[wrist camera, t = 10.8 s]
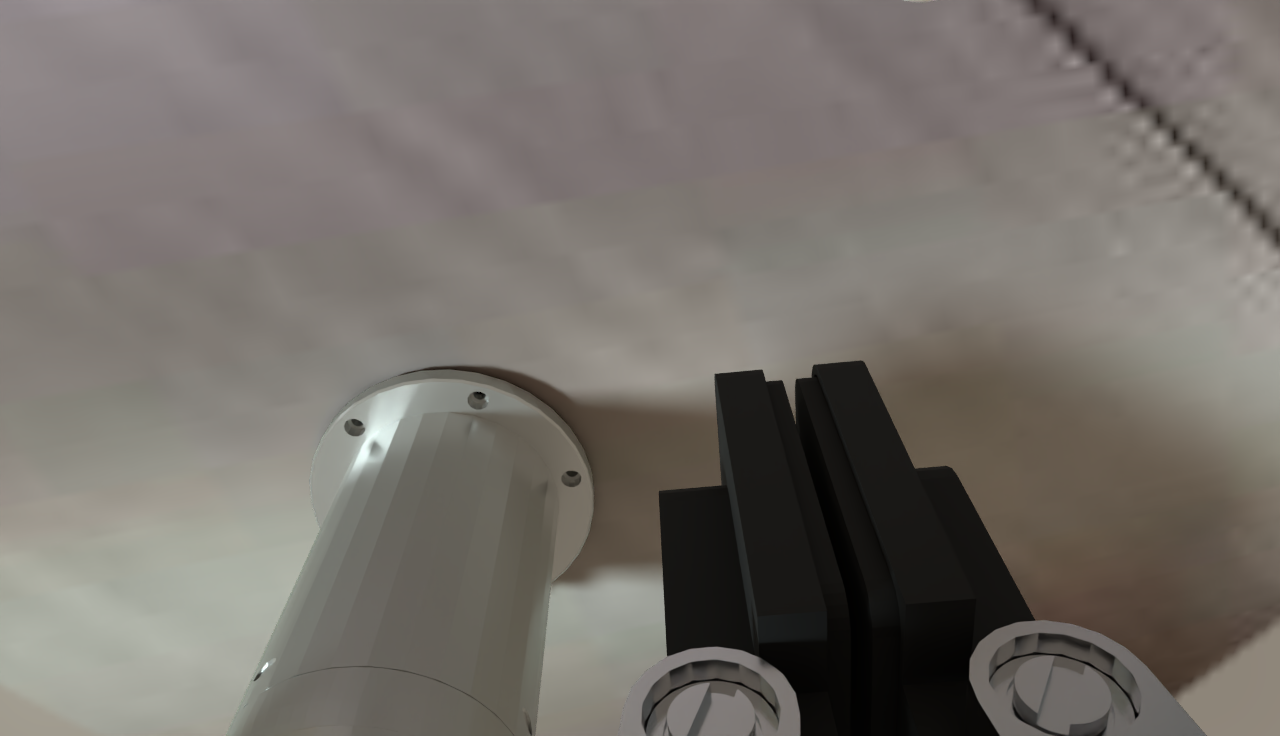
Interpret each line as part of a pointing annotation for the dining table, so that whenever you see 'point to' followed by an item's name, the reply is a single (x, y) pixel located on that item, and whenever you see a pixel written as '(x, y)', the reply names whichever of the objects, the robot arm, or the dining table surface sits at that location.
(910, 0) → the ivory ball
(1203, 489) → the dining table surface
